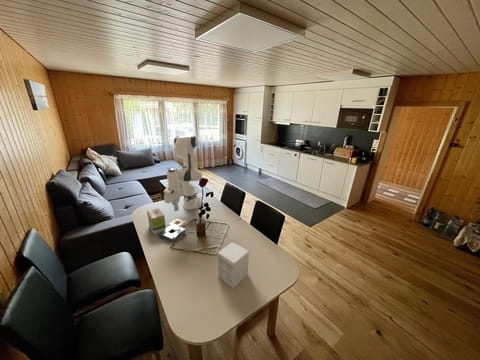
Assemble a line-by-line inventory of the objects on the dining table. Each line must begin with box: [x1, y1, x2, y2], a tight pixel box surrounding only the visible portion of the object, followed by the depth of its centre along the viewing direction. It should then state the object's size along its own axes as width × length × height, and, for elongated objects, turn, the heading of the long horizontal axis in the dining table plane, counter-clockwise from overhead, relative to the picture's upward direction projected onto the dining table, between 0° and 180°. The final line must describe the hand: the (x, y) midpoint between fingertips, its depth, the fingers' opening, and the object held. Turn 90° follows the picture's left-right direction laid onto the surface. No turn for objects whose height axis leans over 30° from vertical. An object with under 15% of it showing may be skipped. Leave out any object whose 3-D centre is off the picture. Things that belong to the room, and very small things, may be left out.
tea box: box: [146, 207, 167, 235], centre depth 158 cm, size 15×10×15 cm
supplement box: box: [217, 241, 250, 289], centre depth 113 cm, size 13×13×18 cm
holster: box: [168, 218, 187, 228], centre depth 165 cm, size 10×10×3 cm
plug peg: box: [173, 197, 179, 212], centre depth 159 cm, size 4×4×12 cm
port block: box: [158, 225, 186, 244], centre depth 151 cm, size 14×14×5 cm
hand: (175, 203), depth 159 cm, fingers closed on plug peg, 4 cm apart
